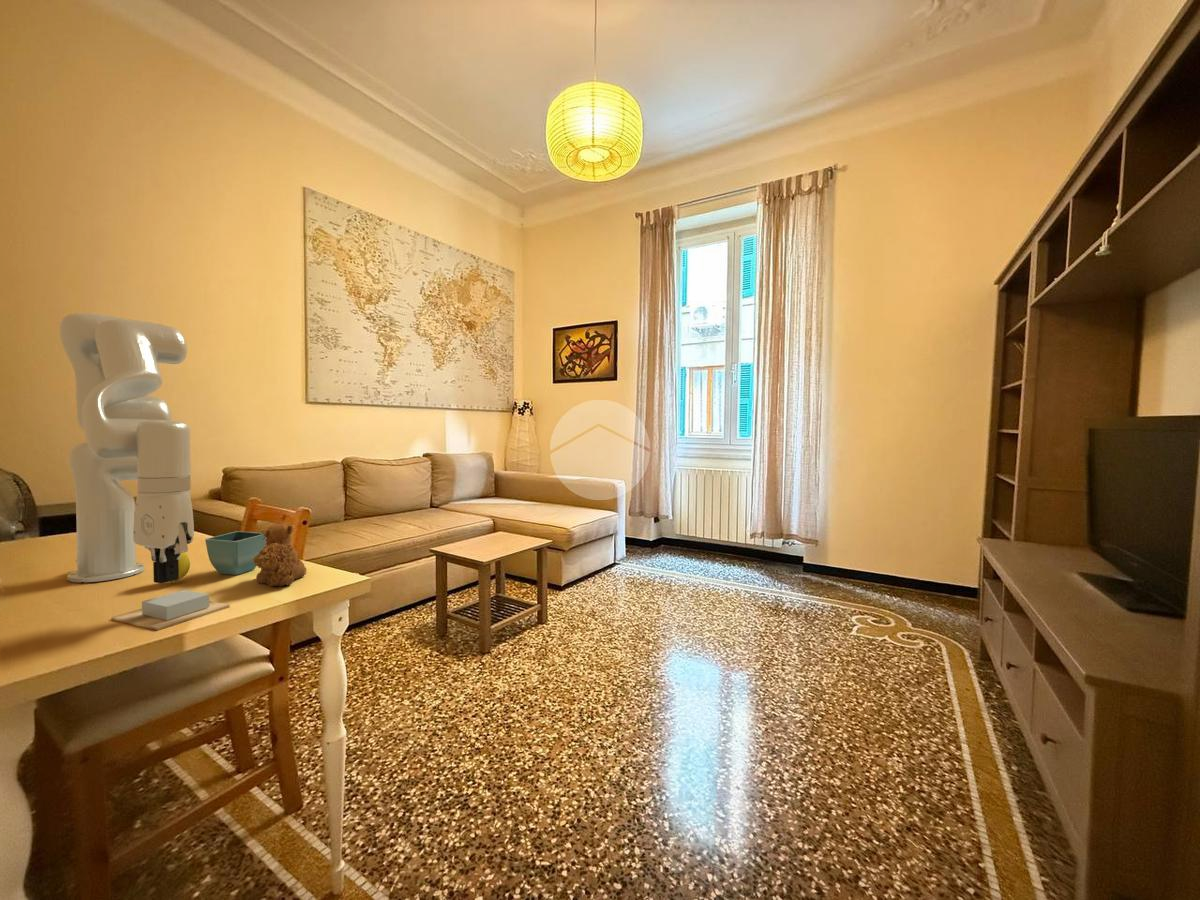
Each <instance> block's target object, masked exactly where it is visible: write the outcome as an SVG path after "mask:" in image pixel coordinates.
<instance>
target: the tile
mask: <svg viewBox="0 0 1200 900" xmlns="http://www.w3.org/2000/svg"><path fill="white" fill-rule="evenodd" d="M209 601H210V594H209V593H204V592H200V591H199V592H198V591H193V590H189V589H182V590H179V591H175V592H171V593H167V594H165V595H160V596H157V597H153V598H149V599H146V600H142V601H141V609H142V615H146V616H150V617H155V618H159V619H164V620H169V619H173V618H176V617H179V616H182V615H185V614H188V613H192V612H195V611H198V610H201V609H204V608H207V607H209Z"/></svg>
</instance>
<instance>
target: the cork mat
mask: <svg viewBox="0 0 1200 900" xmlns="http://www.w3.org/2000/svg"><path fill="white" fill-rule="evenodd" d="M229 608H230V604H228V603H227V604H226V603H221V602H217V601H212V600H209V607H207V608H204V609H201V610H198V611H195V612H192V613H188V614H185V615H182V616H179V617H176V618H173V619H169V620H164V619H159V618H155V617H150V616H146V615H142V608H139V609H136V610H133V611H128V612H125V613H122V614H118V615H114V616H111V621H112V620H113V621H116V622H121V623H124V624H127V625H128V624H129V625H132V626H136V627H140V626H141V628H146V629H148V630H153V631H161V630H163V629H167V628H170V627H173V626H175V625H178V624H182V623H185V622H188V621H192V620H195V619H197V618H201V617H203V616H206V615H210V614H213V613H215V612H218V611H222V610H225V609H229Z"/></svg>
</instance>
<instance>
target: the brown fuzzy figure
mask: <svg viewBox="0 0 1200 900" xmlns="http://www.w3.org/2000/svg"><path fill="white" fill-rule="evenodd" d="M294 529H295V525H292V524H290V525H287V524H285V523H277V524H273V525H271V526H269V527H268V528H267V529H266V528H261V529H260V530H259V533H262V534H263V535H264V536H265V537H266V540H265V541H266V545H265V546H264V548H263V550H261V551H260V552H259V554H258V555H256V556H255V558H253V559H252V560H253V561H254V563H255V564H254V565H256V567H258V568H259V569H260V571H259V572H258V573H257V574H256V581H257V583H258V584H262V583H267V585H270V586H271V587H273V586H275V587H274V588H277V587H276V586H278V587H285V586H284V585H287V586H290V585H289V584H291V585H292V584H293V583H294V581H296V580H298V579H297V578H299V579H301V578H303V577H302V576H304V575H305V576H306V574H307V567H306V566H305V564H304V563H303V561H302V560H301V559H299V558H298V557H299V553H298V551H297V549H296V548H295V547H294V546H293V545H291V543H292V535H291V534H292V533H293V531H294ZM265 537H264V538H263V539H265ZM263 539H262V540H263ZM305 576H304V577H305ZM300 577H301V578H300ZM295 579H296V580H295Z"/></svg>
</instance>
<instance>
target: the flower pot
mask: <svg viewBox="0 0 1200 900" xmlns="http://www.w3.org/2000/svg"><path fill="white" fill-rule="evenodd" d="M264 537H265V536H264V535H263V534H262V533H260V532H253V531H240V530H237V531H233V532H229V533H225V534H220V535H216V536H213V537H208V538H205V539H204V540H205V545H206V546H205V547H206V550H207V555H208V559H209V561H210V564H211V566H212V567H213V568H214V570H216V571H217V572H218V573H219V574H222V575H233V576H238V575H241V574H244V573H247V572H251V571H253V570H255V569H256V568H257V566H256V565H254V564H255V563H254V561H253V560H252V559H253V558H255V556H256V555H258V554H259V552H260V551H261V550H263V548H264V546H266V543H267V541H265V540H266V537H265V539H263V538H264ZM262 539H263V540H262Z"/></svg>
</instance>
